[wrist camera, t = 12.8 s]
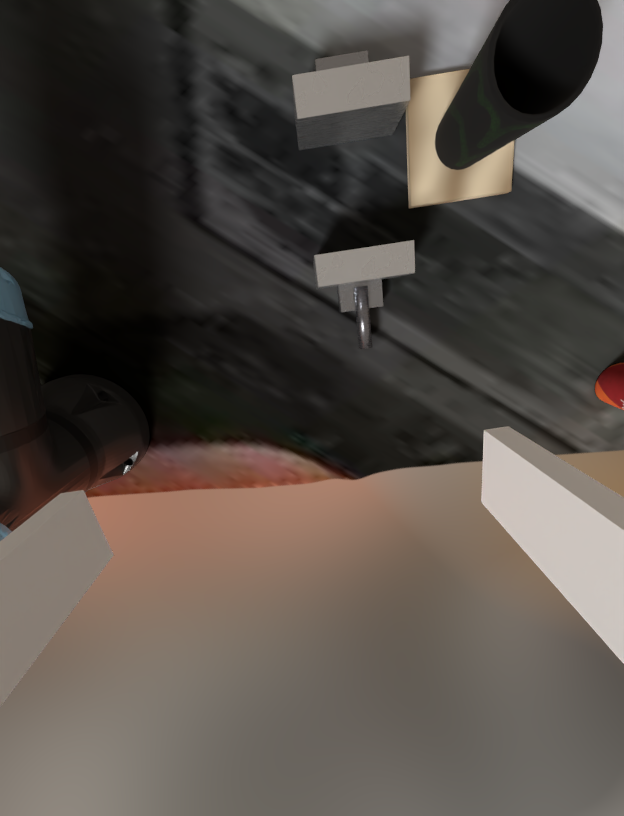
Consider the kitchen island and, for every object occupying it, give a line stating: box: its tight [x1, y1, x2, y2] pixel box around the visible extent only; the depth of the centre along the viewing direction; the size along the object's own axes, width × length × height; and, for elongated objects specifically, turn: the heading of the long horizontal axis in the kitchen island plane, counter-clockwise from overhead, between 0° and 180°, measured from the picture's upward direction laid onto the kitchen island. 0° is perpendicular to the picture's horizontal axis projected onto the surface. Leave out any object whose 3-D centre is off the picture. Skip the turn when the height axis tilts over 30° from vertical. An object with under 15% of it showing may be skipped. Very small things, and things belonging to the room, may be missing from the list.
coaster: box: [406, 69, 514, 209], centre depth 33 cm, size 11×11×1 cm
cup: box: [435, 0, 603, 170], centre depth 27 cm, size 8×8×12 cm
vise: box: [292, 50, 415, 349], centre depth 32 cm, size 10×28×6 cm, turn 8°
